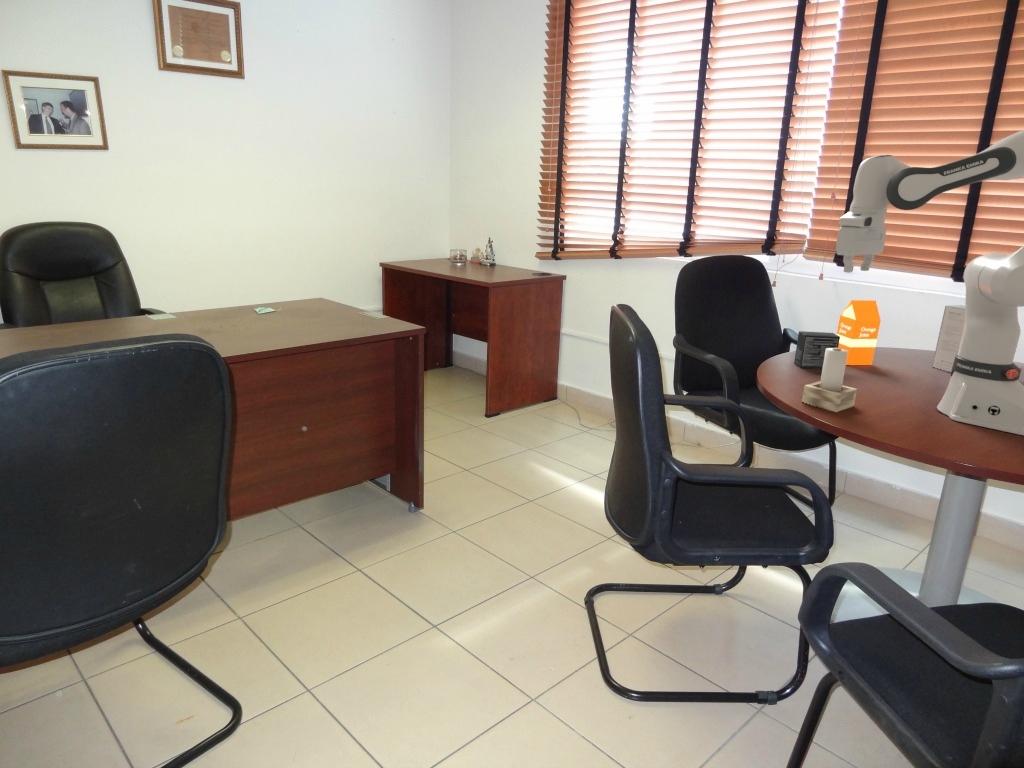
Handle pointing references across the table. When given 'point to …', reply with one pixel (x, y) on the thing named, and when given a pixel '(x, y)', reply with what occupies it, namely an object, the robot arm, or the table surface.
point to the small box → (814, 348)
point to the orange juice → (859, 331)
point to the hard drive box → (949, 337)
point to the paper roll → (833, 369)
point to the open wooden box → (829, 397)
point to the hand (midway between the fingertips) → (856, 271)
